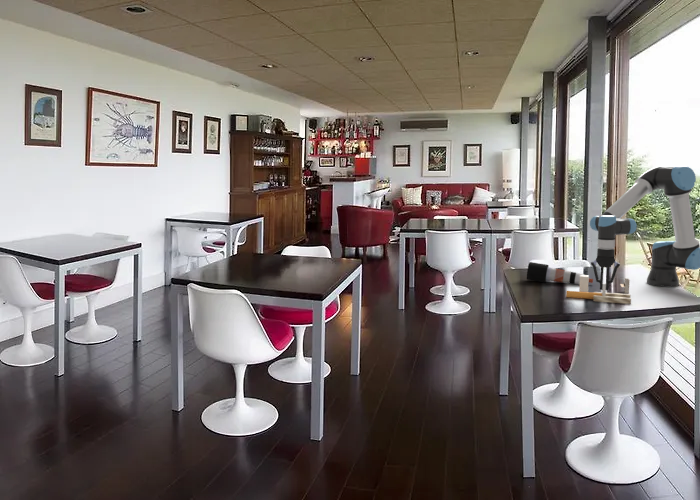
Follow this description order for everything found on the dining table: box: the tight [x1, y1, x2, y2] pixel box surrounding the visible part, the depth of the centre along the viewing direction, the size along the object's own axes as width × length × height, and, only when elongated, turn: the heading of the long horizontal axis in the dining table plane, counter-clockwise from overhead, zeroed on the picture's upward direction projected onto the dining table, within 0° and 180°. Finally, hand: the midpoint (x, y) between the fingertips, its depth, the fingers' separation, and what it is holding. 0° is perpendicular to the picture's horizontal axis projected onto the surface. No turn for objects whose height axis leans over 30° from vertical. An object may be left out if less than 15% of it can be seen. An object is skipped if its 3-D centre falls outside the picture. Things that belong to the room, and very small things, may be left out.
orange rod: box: [565, 290, 602, 300], centre depth 280 cm, size 16×3×3 cm
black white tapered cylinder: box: [526, 261, 594, 285], centre depth 316 cm, size 10×34×10 cm
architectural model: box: [619, 277, 631, 294], centre depth 292 cm, size 3×7×7 cm, turn 162°
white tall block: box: [578, 274, 590, 292], centre depth 291 cm, size 4×4×9 cm
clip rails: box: [593, 291, 632, 305], centre depth 276 cm, size 16×10×2 cm, turn 66°
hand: (603, 296), depth 277 cm, fingers closed
